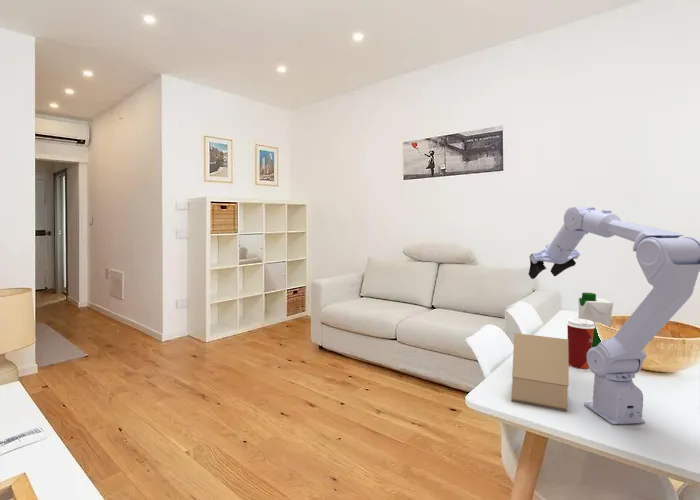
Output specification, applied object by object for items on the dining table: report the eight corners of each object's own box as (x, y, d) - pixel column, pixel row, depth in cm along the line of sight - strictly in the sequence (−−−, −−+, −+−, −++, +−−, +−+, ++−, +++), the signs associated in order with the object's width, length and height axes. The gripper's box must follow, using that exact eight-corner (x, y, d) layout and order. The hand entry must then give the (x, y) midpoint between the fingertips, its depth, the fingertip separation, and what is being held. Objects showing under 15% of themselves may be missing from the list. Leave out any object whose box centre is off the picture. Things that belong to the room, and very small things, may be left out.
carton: (513, 383, 107) (514, 362, 106) (563, 392, 102) (564, 369, 101) (511, 400, 97) (512, 377, 96) (566, 411, 92) (567, 386, 91)
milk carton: (573, 346, 137) (575, 291, 136) (600, 348, 136) (604, 291, 134) (583, 355, 129) (587, 296, 127) (613, 357, 127) (617, 297, 125)
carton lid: (514, 333, 101) (514, 333, 101) (568, 340, 96) (568, 339, 96) (512, 377, 96) (512, 376, 96) (568, 386, 91) (568, 385, 91)
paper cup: (597, 371, 116) (600, 325, 114) (569, 369, 117) (571, 323, 116) (587, 361, 123) (589, 318, 122) (560, 359, 125) (562, 317, 124)
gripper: (578, 231, 111) (555, 262, 120) (533, 235, 108) (514, 267, 117) (593, 248, 106) (568, 280, 116) (547, 253, 103) (526, 285, 113)
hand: (542, 275), depth 116 cm, fingers open, 7 cm apart
